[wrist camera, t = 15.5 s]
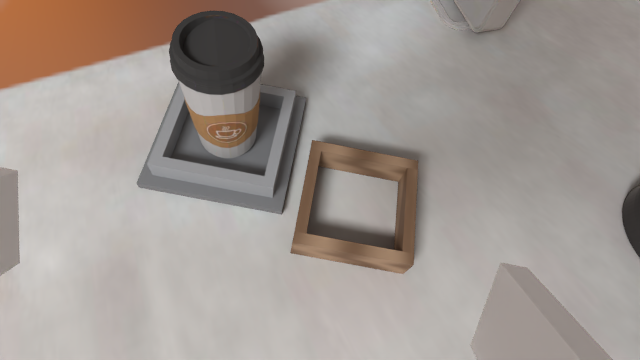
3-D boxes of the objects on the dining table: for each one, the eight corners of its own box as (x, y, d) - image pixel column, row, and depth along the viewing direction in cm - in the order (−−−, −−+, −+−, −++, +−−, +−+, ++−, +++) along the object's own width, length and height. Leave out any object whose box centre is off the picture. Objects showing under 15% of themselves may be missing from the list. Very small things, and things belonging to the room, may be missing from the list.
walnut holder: (408, 175, 50) (418, 160, 47) (403, 273, 44) (413, 265, 41) (309, 155, 50) (312, 140, 47) (290, 252, 44) (292, 242, 41)
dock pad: (305, 102, 53) (308, 84, 50) (281, 214, 46) (282, 201, 43) (183, 78, 53) (178, 58, 50) (139, 187, 45) (129, 172, 42)
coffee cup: (193, 171, 46) (165, 80, 33) (190, 111, 50) (164, 7, 36) (268, 164, 47) (270, 73, 34) (260, 106, 51) (258, 5, 38)
